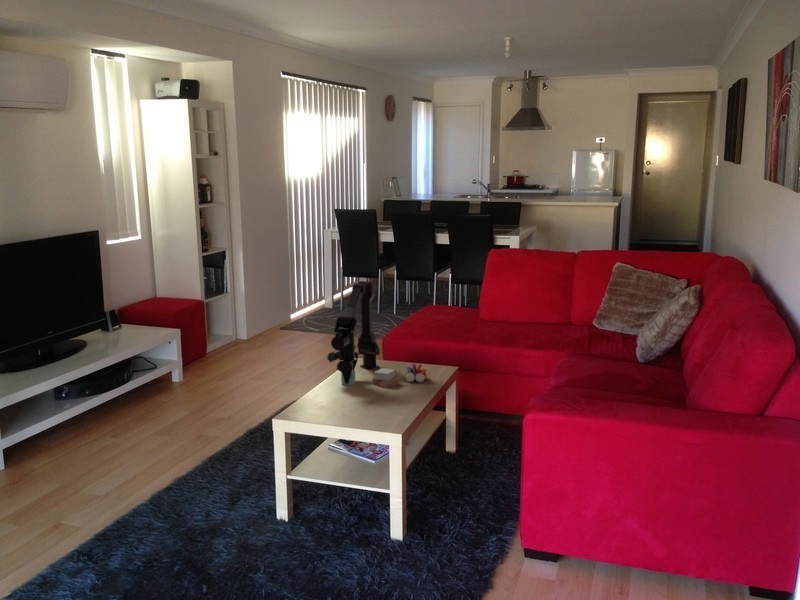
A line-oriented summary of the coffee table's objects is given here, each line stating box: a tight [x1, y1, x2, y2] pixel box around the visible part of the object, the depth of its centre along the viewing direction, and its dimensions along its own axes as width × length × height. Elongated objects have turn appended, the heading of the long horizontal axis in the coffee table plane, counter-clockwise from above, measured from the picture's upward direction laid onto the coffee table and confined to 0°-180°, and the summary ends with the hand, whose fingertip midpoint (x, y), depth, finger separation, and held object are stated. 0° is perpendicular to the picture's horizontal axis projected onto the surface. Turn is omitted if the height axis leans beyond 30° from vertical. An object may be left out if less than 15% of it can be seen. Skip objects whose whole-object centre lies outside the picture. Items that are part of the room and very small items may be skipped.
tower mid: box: [373, 367, 397, 381], centre depth 294 cm, size 6×6×3 cm
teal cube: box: [340, 369, 356, 386], centre depth 295 cm, size 5×5×5 cm
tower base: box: [372, 376, 400, 389], centre depth 294 cm, size 8×8×3 cm
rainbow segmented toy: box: [404, 363, 428, 383], centre depth 298 cm, size 8×10×7 cm
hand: (348, 380), depth 296 cm, fingers open, 9 cm apart
